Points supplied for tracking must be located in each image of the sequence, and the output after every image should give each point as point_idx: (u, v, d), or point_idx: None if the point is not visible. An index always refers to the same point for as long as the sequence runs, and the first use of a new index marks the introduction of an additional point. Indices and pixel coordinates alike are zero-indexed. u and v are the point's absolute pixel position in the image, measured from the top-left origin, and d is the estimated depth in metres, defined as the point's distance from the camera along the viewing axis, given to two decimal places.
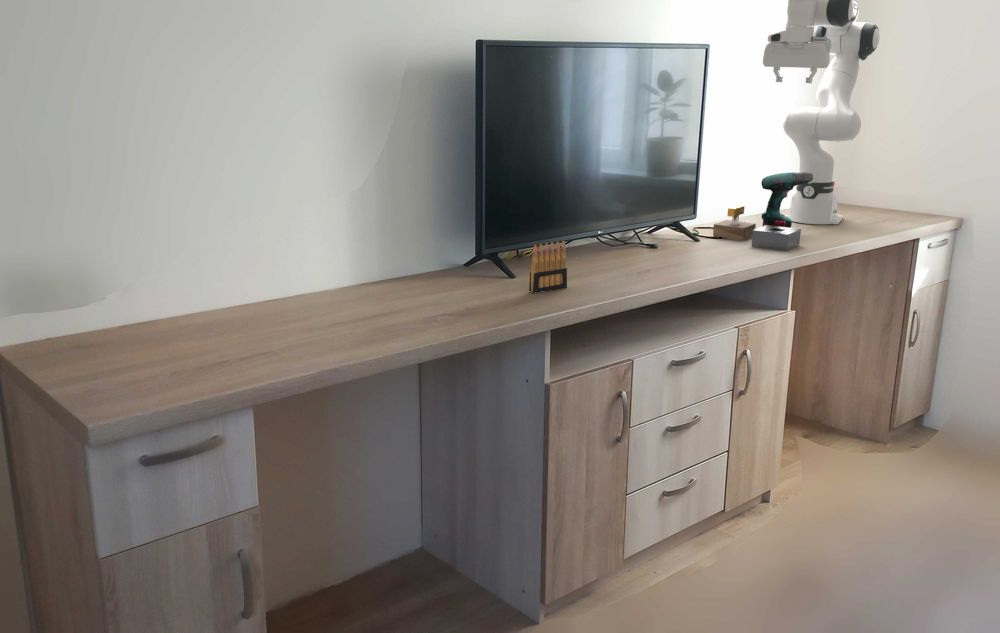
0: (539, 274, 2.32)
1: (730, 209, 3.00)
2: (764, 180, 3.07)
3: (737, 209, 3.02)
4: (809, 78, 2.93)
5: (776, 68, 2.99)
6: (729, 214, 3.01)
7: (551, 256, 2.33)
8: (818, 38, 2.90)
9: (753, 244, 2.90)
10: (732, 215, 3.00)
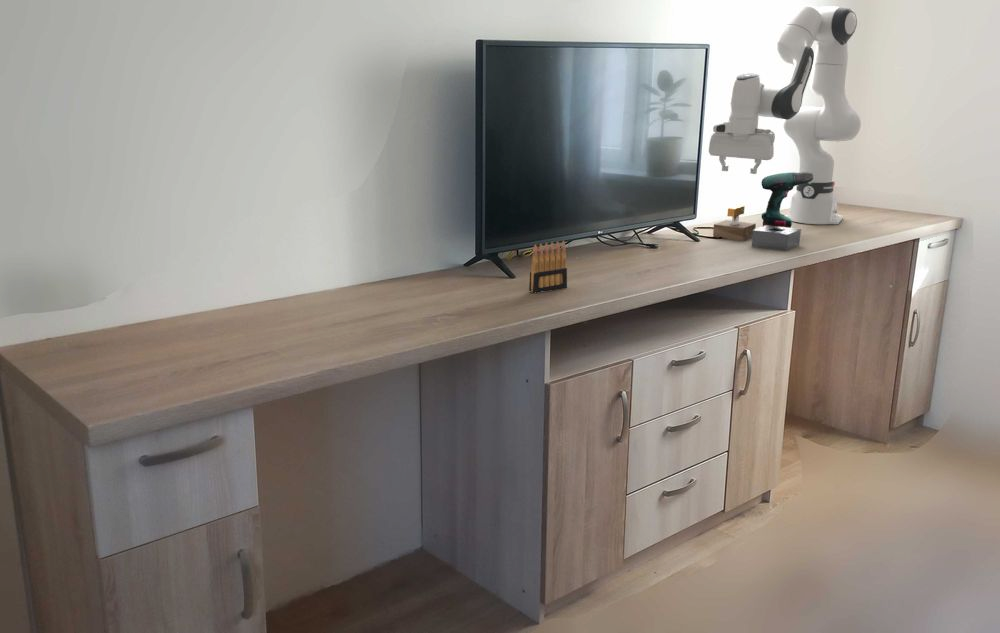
0: (539, 274, 2.32)
1: (730, 209, 3.00)
2: (764, 180, 3.07)
3: (737, 209, 3.01)
4: (753, 169, 2.96)
5: (722, 157, 3.01)
6: (729, 214, 3.01)
7: (551, 256, 2.33)
8: (762, 130, 2.93)
9: (753, 244, 2.90)
10: (732, 215, 3.00)
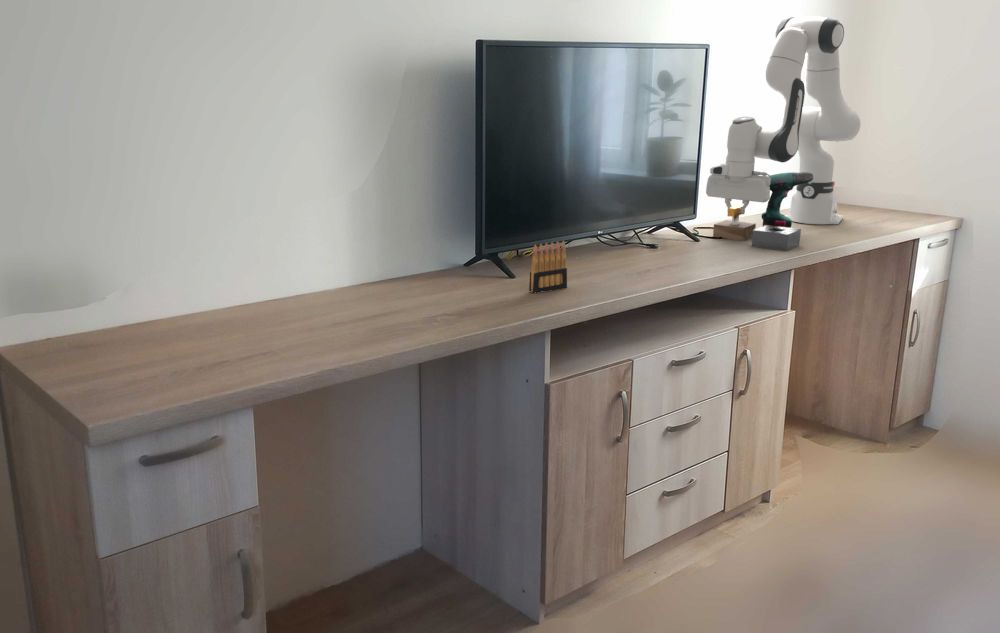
0: (539, 274, 2.32)
1: (730, 209, 3.00)
2: None
3: (737, 209, 3.01)
4: (741, 209, 3.02)
5: (727, 199, 3.03)
6: (729, 214, 3.01)
7: (551, 256, 2.33)
8: (758, 173, 2.96)
9: (753, 244, 2.90)
10: (732, 215, 3.00)
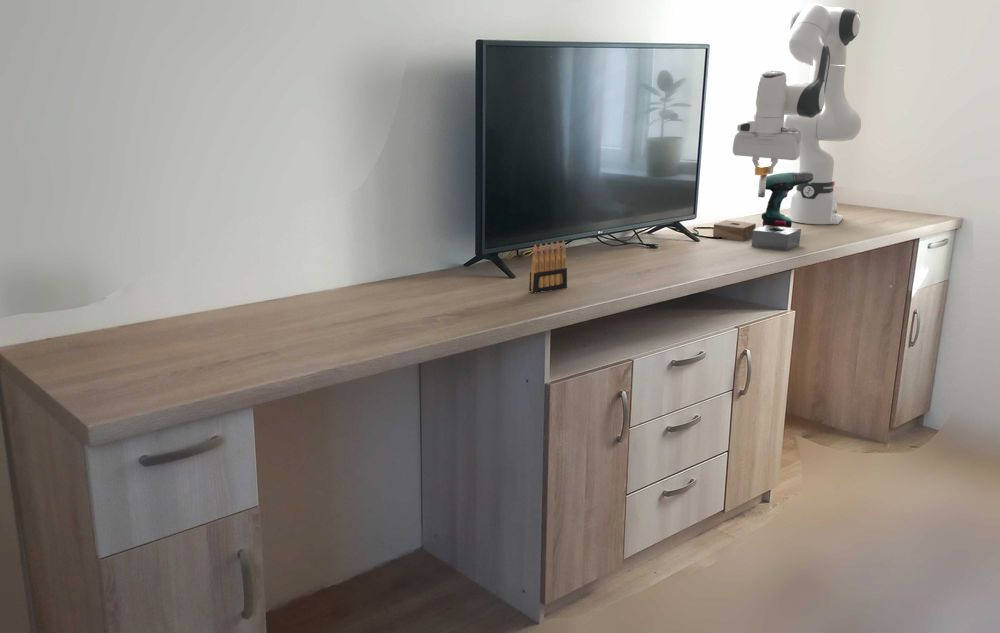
0: (539, 274, 2.32)
1: (758, 167, 2.88)
2: None
3: (765, 168, 2.89)
4: (770, 168, 2.89)
5: (755, 158, 2.91)
6: (757, 173, 2.89)
7: (551, 256, 2.33)
8: (788, 129, 2.84)
9: (753, 244, 2.90)
10: (760, 174, 2.88)
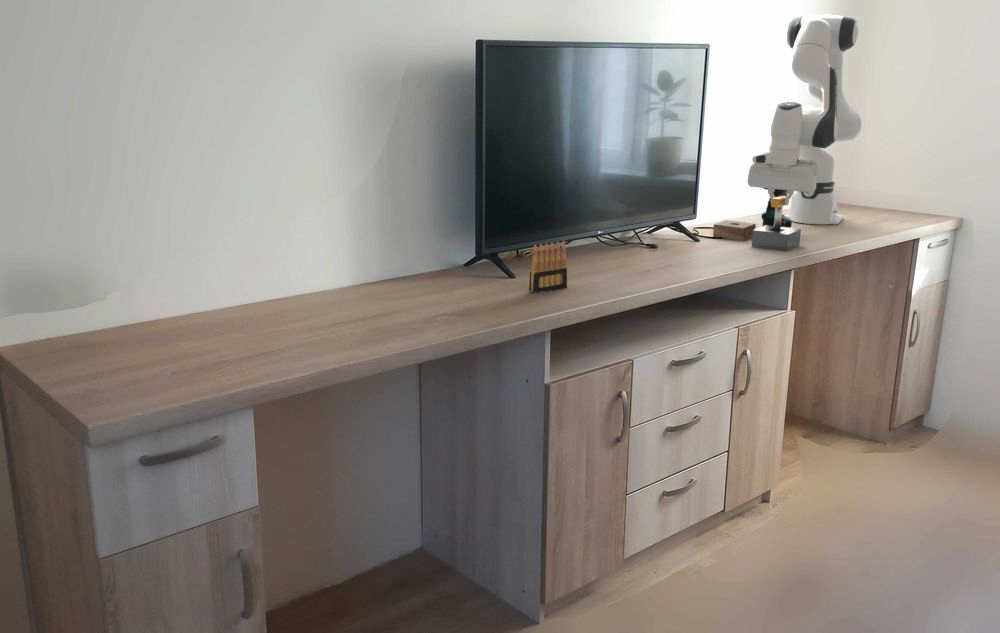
0: (539, 274, 2.32)
1: (774, 199, 2.85)
2: None
3: (781, 200, 2.86)
4: (786, 200, 2.86)
5: (771, 190, 2.88)
6: (773, 205, 2.86)
7: (551, 256, 2.33)
8: (804, 161, 2.81)
9: (753, 244, 2.90)
10: (776, 206, 2.85)
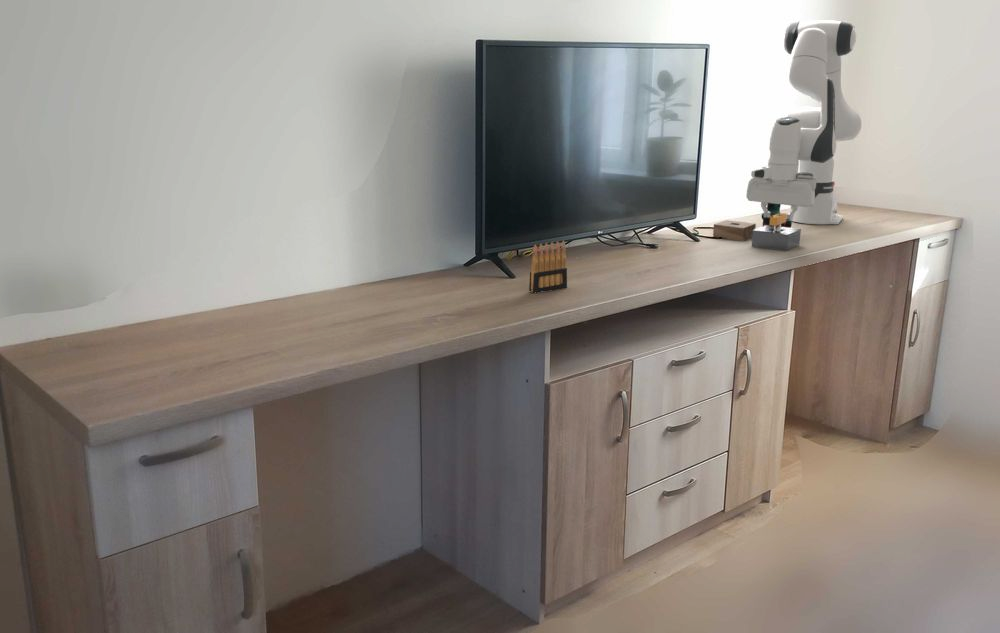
0: (539, 274, 2.32)
1: (772, 218, 2.86)
2: None
3: (780, 218, 2.88)
4: (790, 215, 2.87)
5: (764, 203, 2.90)
6: (771, 223, 2.87)
7: (551, 256, 2.33)
8: (803, 176, 2.82)
9: (753, 244, 2.90)
10: (775, 224, 2.87)
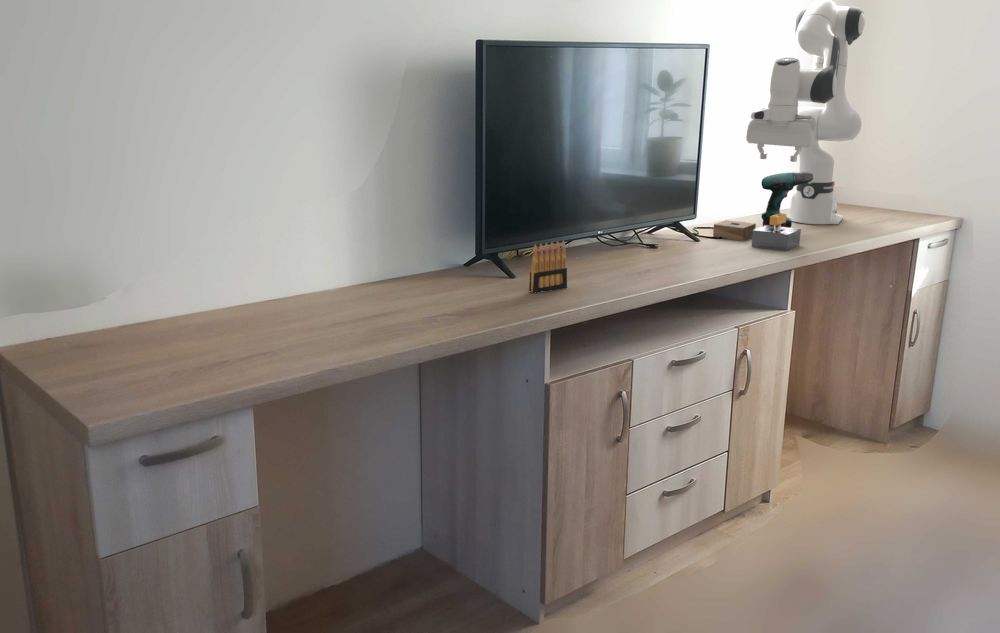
0: (539, 274, 2.32)
1: (772, 217, 2.87)
2: (764, 180, 3.07)
3: (779, 217, 2.88)
4: (794, 157, 2.87)
5: (760, 145, 2.92)
6: (771, 223, 2.87)
7: (551, 256, 2.33)
8: (802, 117, 2.83)
9: (753, 244, 2.90)
10: (775, 224, 2.87)
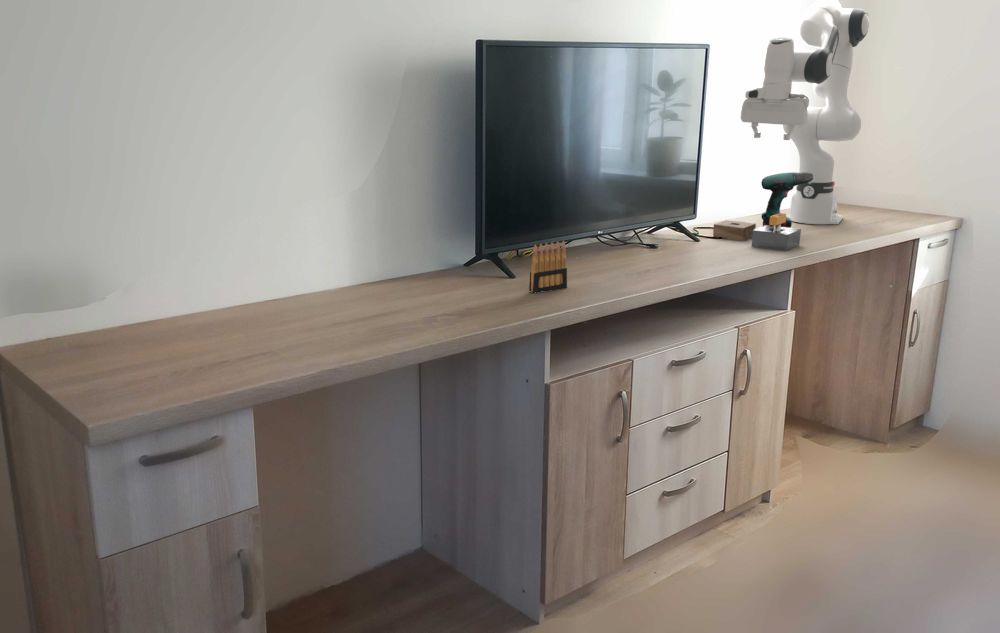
0: (539, 274, 2.32)
1: (772, 217, 2.87)
2: (764, 180, 3.07)
3: (779, 217, 2.88)
4: (787, 135, 2.92)
5: (754, 124, 2.97)
6: (771, 223, 2.87)
7: (551, 256, 2.33)
8: (796, 95, 2.88)
9: (753, 244, 2.90)
10: (774, 224, 2.87)
